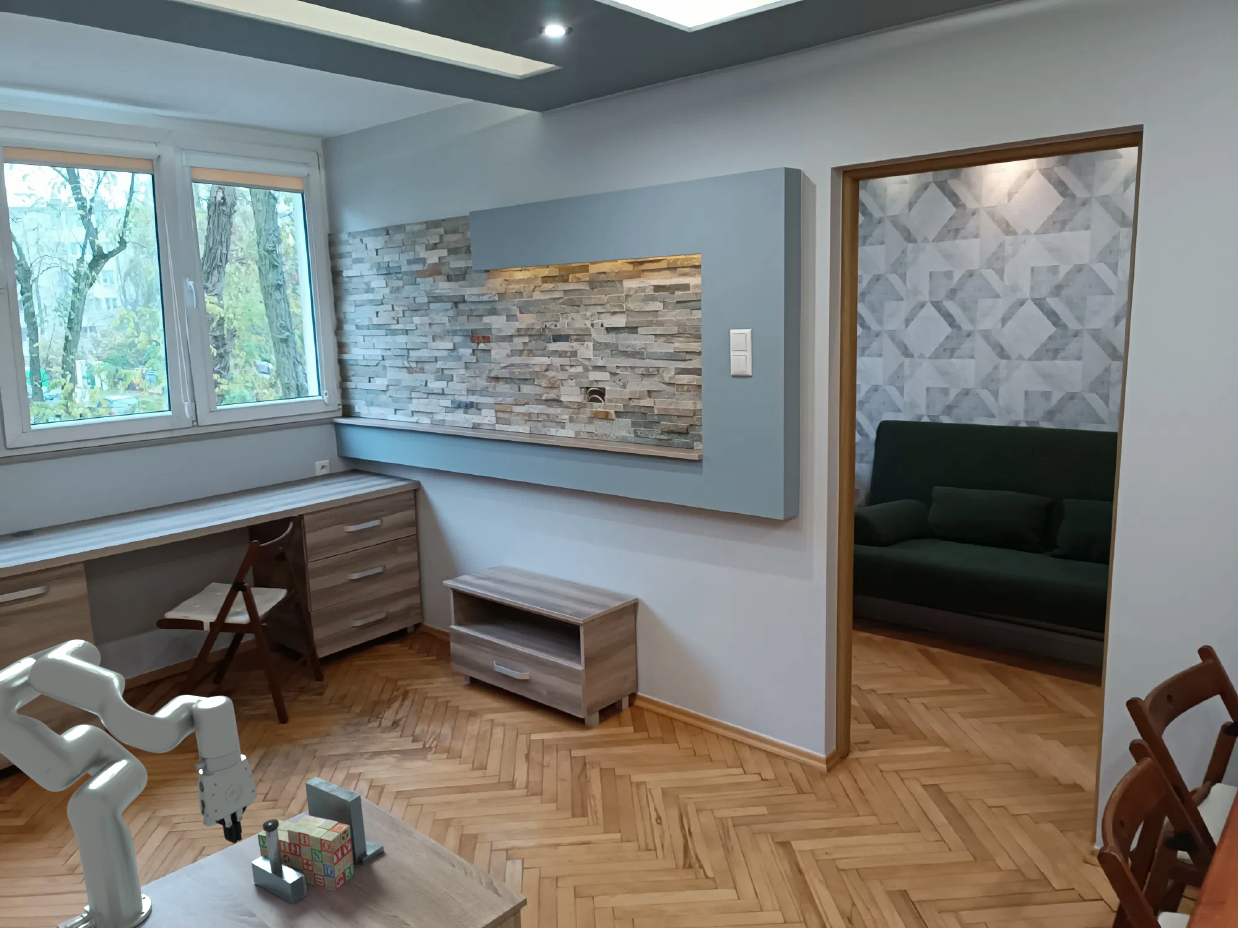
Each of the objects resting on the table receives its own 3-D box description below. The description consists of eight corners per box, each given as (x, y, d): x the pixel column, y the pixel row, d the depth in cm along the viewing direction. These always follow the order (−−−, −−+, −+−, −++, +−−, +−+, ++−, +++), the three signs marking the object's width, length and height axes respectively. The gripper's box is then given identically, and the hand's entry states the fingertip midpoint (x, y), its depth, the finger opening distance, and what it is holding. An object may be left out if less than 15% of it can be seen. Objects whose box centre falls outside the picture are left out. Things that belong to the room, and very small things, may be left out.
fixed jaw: (357, 868, 199) (350, 803, 196) (308, 844, 209) (300, 782, 206) (384, 851, 205) (377, 787, 202) (334, 828, 215) (327, 767, 212)
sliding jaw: (292, 904, 188) (283, 836, 185) (253, 882, 196) (244, 817, 193) (306, 894, 190) (298, 828, 188) (268, 873, 198) (259, 809, 196)
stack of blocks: (261, 871, 200) (255, 821, 198) (282, 854, 206) (275, 806, 204) (336, 891, 192) (330, 839, 190) (355, 874, 197) (350, 823, 195)
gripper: (196, 779, 171) (210, 865, 174) (264, 745, 183) (276, 826, 186) (175, 770, 175) (189, 853, 179) (243, 737, 188) (255, 816, 191)
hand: (234, 839), depth 183 cm, fingers closed
